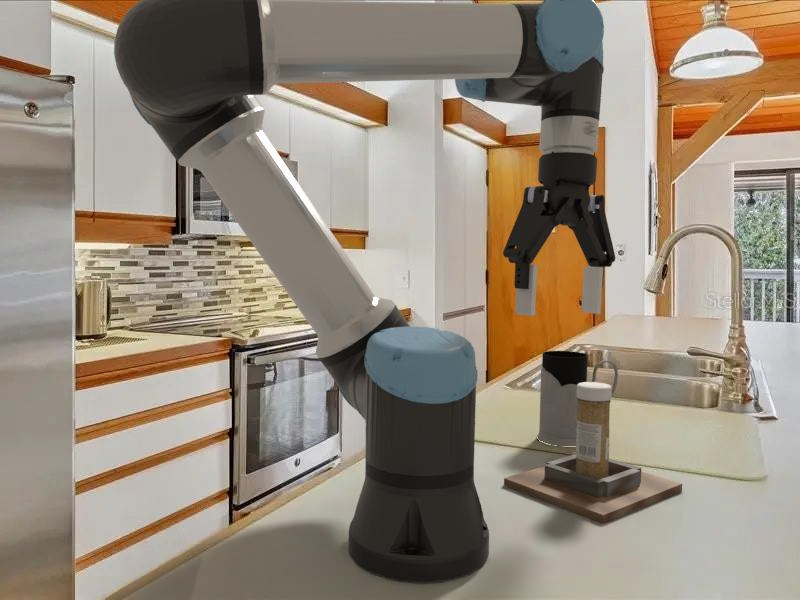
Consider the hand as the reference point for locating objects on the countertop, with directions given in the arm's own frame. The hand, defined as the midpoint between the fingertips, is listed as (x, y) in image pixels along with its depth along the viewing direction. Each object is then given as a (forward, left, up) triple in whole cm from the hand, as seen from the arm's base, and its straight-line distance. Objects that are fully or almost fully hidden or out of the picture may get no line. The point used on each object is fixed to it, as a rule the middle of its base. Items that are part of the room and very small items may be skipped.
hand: (559, 314), depth 89 cm
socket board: (+4, -3, -24) cm, 24 cm away
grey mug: (+22, +13, -24) cm, 35 cm away
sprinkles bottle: (+4, -3, -23) cm, 24 cm away
